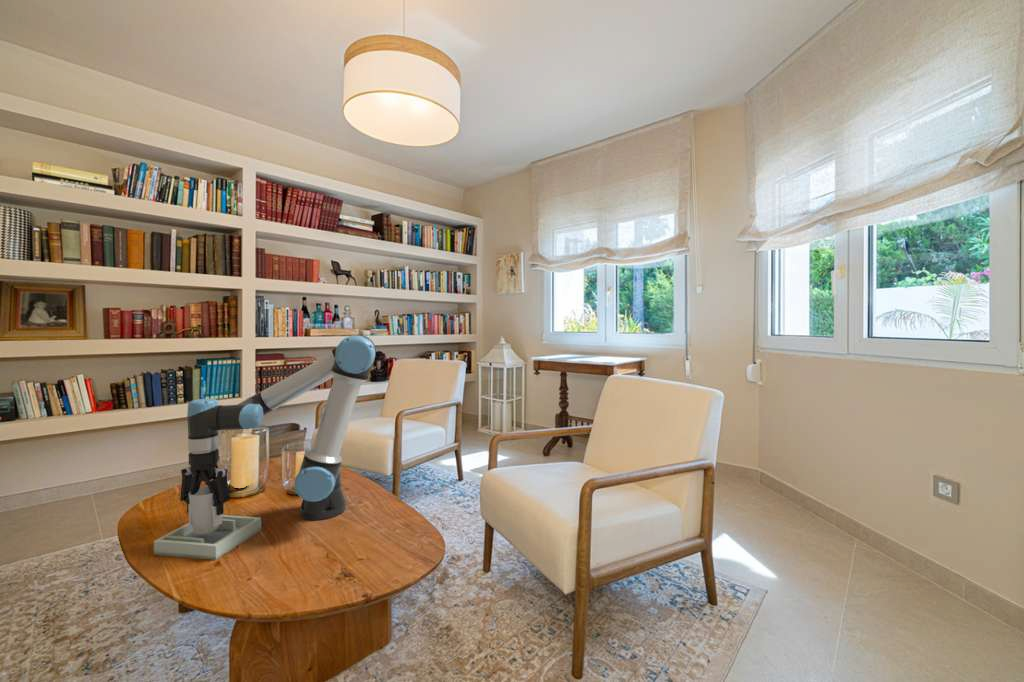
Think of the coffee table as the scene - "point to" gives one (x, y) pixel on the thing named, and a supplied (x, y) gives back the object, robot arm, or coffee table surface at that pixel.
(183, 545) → the box
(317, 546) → the coffee table surface
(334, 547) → the coffee table surface
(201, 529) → the cup
